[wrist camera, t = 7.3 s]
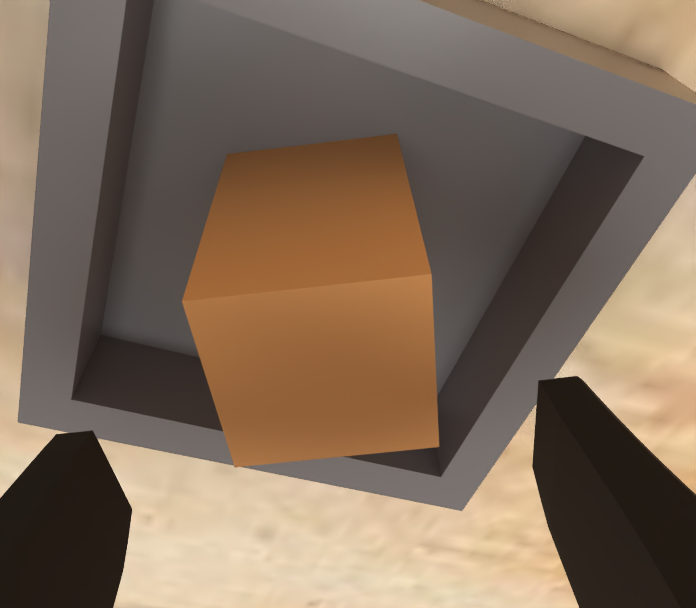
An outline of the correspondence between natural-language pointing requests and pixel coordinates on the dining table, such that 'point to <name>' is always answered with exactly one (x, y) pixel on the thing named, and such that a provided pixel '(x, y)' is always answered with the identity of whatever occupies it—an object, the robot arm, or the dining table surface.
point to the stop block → (316, 304)
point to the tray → (326, 126)
